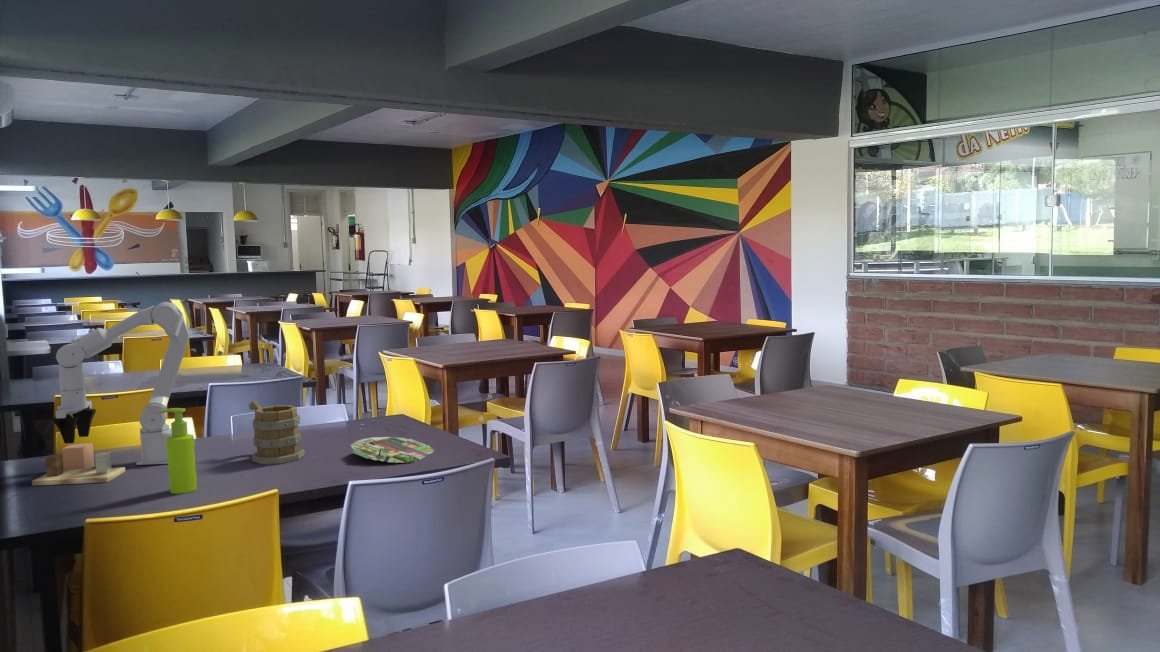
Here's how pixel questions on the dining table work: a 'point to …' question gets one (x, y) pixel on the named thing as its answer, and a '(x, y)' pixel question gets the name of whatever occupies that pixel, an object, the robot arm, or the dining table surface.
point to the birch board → (78, 477)
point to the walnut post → (54, 465)
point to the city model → (391, 449)
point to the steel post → (103, 463)
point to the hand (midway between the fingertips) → (76, 439)
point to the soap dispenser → (180, 455)
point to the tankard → (276, 434)
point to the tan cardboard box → (78, 456)
